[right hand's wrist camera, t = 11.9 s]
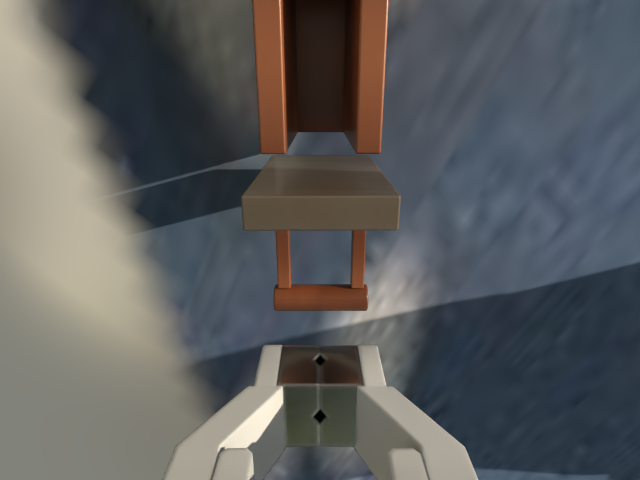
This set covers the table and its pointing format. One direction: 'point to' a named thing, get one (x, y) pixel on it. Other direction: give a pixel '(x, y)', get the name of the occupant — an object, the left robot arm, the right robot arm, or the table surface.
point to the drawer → (320, 116)
